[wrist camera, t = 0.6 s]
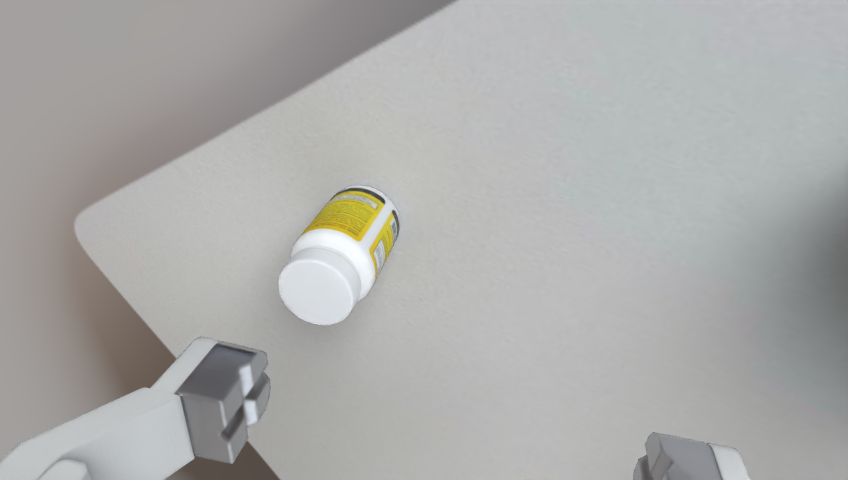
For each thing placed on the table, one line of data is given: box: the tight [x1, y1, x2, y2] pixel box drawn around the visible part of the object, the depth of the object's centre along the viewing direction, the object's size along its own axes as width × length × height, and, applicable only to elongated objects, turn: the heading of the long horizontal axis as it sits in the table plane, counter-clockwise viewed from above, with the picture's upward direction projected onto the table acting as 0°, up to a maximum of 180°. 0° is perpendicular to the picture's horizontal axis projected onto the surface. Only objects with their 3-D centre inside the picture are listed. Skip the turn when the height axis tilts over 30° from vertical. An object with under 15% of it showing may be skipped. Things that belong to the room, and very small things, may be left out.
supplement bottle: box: [278, 185, 400, 325], centre depth 29 cm, size 5×5×8 cm
